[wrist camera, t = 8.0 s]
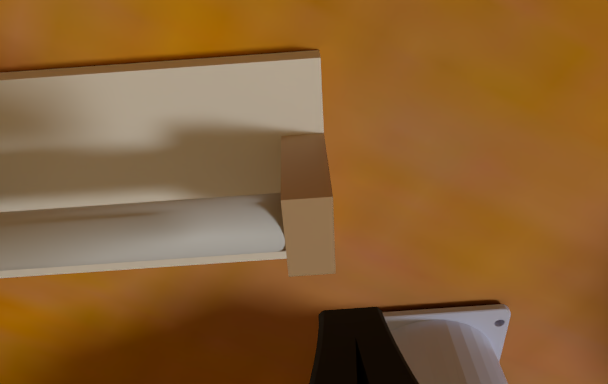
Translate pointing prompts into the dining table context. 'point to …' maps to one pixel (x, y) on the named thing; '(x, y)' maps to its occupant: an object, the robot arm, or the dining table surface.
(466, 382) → the robot arm
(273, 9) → the dining table surface
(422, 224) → the dining table surface
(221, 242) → the pipe rig
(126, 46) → the dining table surface
